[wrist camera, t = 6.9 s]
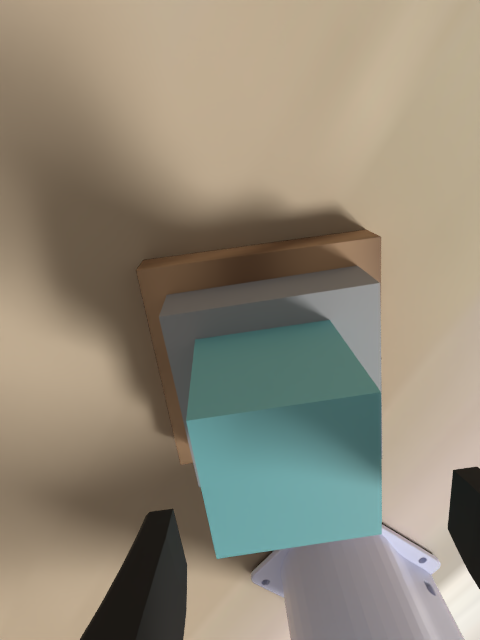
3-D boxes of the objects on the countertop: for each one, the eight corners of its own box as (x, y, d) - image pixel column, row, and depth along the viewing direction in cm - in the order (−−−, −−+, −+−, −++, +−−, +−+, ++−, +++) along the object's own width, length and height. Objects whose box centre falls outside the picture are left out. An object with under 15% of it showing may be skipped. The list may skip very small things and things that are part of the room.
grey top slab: (357, 265, 17) (380, 283, 15) (362, 423, 20) (382, 459, 18) (166, 294, 17) (158, 316, 15) (200, 448, 20) (198, 487, 18)
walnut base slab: (360, 227, 19) (381, 236, 16) (363, 408, 23) (380, 437, 20) (145, 256, 19) (136, 270, 16) (184, 433, 23) (180, 464, 20)
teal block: (329, 319, 15) (381, 392, 10) (335, 430, 17) (381, 534, 12) (195, 339, 15) (186, 420, 10) (216, 448, 17) (216, 558, 12)
